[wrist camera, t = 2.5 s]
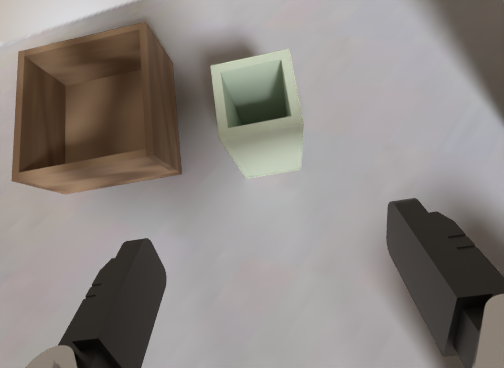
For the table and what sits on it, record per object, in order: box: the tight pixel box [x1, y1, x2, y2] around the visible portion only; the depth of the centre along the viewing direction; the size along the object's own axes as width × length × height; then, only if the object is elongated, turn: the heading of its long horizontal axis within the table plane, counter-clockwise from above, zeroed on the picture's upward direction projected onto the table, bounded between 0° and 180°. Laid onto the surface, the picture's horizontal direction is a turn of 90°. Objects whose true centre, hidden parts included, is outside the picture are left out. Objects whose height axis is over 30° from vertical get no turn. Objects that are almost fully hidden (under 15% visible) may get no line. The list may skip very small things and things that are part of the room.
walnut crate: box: [12, 22, 182, 194], centre depth 28 cm, size 12×12×6 cm
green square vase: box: [210, 49, 304, 179], centre depth 23 cm, size 5×5×10 cm
